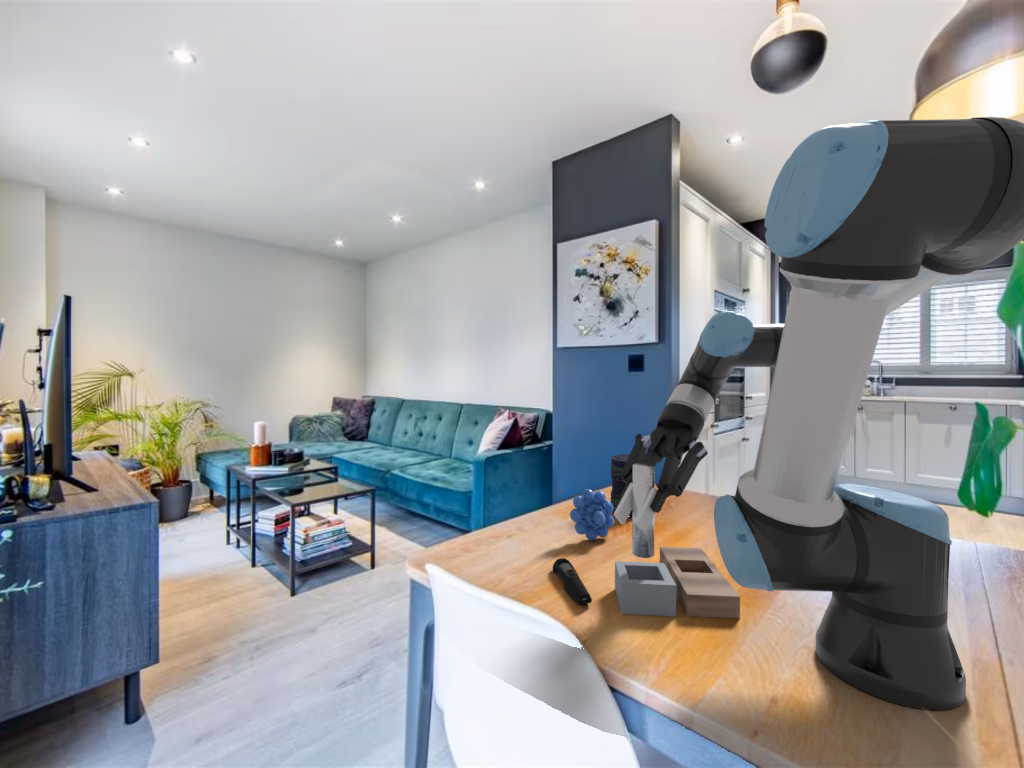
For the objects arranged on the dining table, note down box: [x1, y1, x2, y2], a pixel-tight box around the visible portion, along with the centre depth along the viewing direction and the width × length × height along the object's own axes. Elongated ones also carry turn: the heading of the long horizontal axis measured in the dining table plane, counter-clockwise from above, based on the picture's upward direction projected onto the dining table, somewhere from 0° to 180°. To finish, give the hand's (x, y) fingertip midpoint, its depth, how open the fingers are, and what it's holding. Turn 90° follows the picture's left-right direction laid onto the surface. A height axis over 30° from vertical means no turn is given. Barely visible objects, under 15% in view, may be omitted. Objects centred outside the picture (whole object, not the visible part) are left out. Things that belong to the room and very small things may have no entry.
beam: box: [659, 546, 741, 620], centre depth 83 cm, size 20×8×4 cm, turn 174°
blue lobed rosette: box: [569, 488, 615, 541], centre depth 106 cm, size 12×7×12 cm, turn 113°
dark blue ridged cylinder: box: [610, 454, 632, 517], centre depth 127 cm, size 10×10×15 cm
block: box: [614, 560, 677, 617], centre depth 78 cm, size 8×8×5 cm
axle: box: [631, 463, 656, 559], centre depth 79 cm, size 4×4×15 cm
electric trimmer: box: [552, 558, 593, 605], centre depth 84 cm, size 4×16×3 cm, turn 9°
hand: (629, 522), depth 76 cm, fingers closed on axle, 3 cm apart
